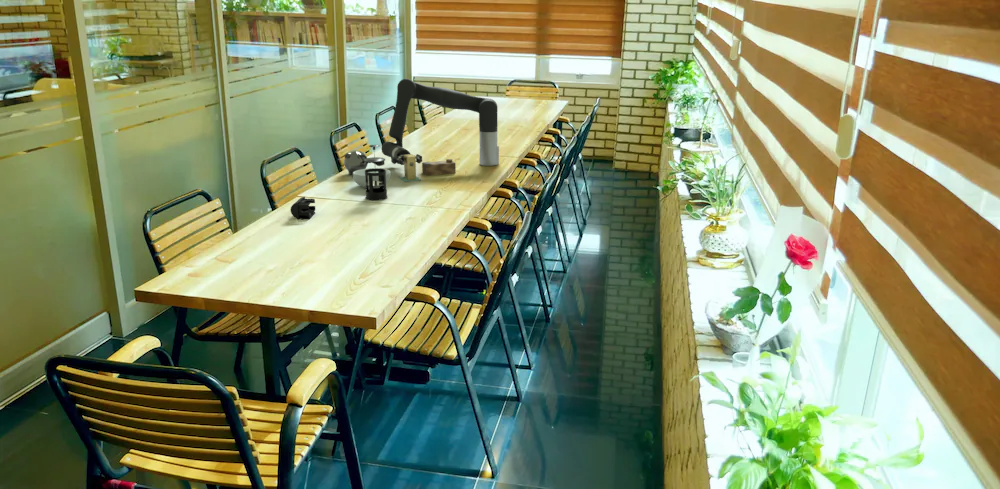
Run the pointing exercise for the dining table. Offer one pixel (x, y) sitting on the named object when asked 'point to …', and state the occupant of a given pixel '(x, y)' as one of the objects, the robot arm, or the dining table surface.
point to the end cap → (303, 208)
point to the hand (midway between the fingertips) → (410, 162)
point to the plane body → (438, 167)
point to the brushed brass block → (410, 167)
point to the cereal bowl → (361, 180)
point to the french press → (372, 192)
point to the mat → (409, 180)
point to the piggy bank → (355, 161)
